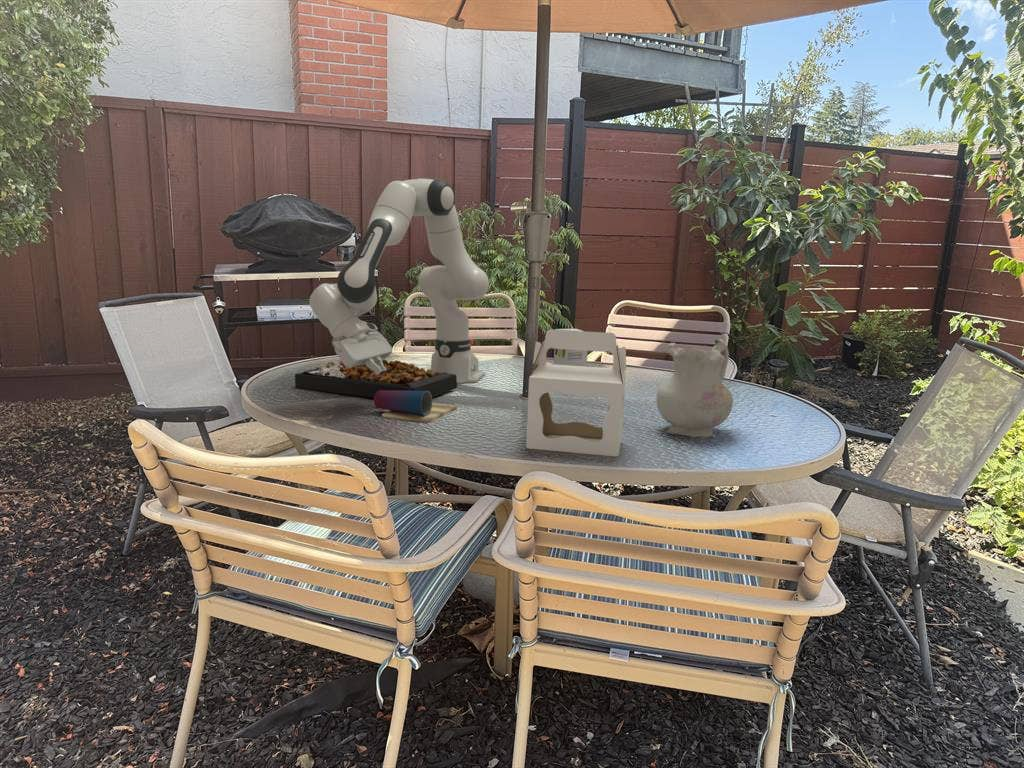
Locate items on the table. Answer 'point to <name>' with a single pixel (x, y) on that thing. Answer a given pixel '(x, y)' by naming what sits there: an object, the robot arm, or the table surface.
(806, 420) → the table surface
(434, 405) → the wooden board
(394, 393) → the cup
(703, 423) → the ceramic pitcher
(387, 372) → the food platter
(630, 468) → the table surface
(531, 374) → the gable box
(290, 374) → the table surface
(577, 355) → the supplement box
